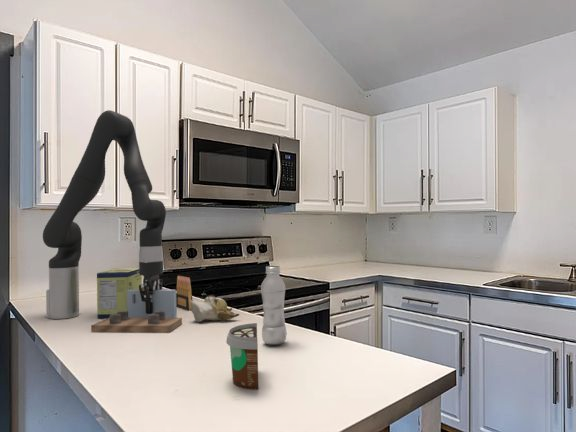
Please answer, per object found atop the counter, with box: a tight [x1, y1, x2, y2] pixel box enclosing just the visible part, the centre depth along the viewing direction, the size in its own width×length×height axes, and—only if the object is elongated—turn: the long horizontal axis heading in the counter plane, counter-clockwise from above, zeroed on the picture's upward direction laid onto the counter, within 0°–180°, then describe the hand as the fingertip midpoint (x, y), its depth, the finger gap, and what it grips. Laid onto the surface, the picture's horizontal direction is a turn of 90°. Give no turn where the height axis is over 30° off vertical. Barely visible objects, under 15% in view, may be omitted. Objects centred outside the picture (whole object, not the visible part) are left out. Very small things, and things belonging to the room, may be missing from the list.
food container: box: [226, 322, 259, 390], centre depth 83 cm, size 12×6×10 cm, turn 5°
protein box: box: [96, 267, 143, 320], centre depth 148 cm, size 10×16×16 cm
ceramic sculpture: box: [191, 294, 240, 323], centre depth 135 cm, size 11×9×15 cm
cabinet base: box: [90, 311, 183, 334], centre depth 127 cm, size 24×10×4 cm, turn 84°
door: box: [127, 289, 178, 318], centre depth 136 cm, size 16×3×10 cm, turn 84°
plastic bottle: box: [260, 265, 288, 346], centre depth 107 cm, size 6×7×20 cm
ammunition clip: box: [176, 275, 193, 312], centre depth 155 cm, size 11×2×12 cm, turn 39°
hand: (151, 312), depth 137 cm, fingers open, 3 cm apart
